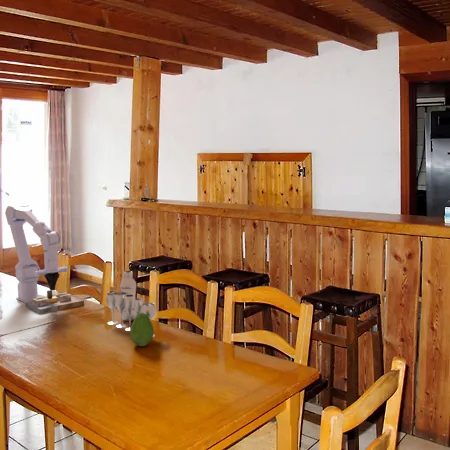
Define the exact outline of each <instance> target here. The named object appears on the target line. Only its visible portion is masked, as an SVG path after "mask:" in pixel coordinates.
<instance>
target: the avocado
mask: <svg viewBox="0 0 450 450" xmlns="http://www.w3.org/2000/svg"><path fill="white" fill-rule="evenodd" d="M153 334H154V326H153V324H152V320H151V321H150V319H149V317H148V316H147V315H146V314H145V313H139V314H137V316H136V317H135V319H134V320H133V321H132V325H131V331H130V339H131V341H132V342H133V344H134V345H136V346H139V347H145V346H147V345H148V344H150V342H152V340H153V338H154V337H153Z"/></svg>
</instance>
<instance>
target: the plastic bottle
mask: <svg viewBox="0 0 450 450" xmlns="http://www.w3.org/2000/svg"><path fill="white" fill-rule="evenodd" d="M122 276H123V278H122V280H121V282H120V285H119V286H120V292H126V293H127V295H134V301H135V299H136V292H137V282H136V280H135V279H134V278H133V276H134V275H133V271H132V270H126V271H125V270H124V271H123V275H122ZM136 316H137V313H136V311H135V308H133V310H132V313H131V321H132V322H133V321H134V319H135V317H136ZM122 321H126V322H130V319H129V314H128V311H127V309H126V307H125V308H124V309H123V311H122Z"/></svg>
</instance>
